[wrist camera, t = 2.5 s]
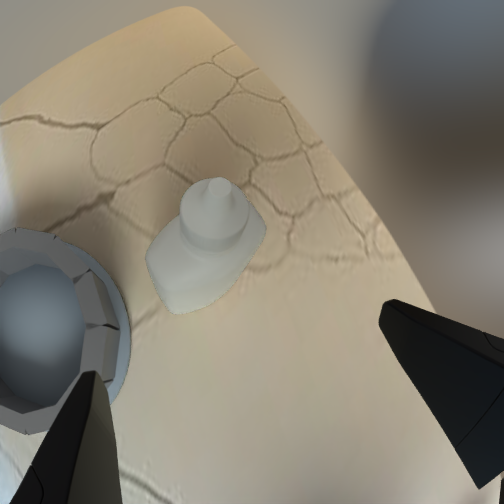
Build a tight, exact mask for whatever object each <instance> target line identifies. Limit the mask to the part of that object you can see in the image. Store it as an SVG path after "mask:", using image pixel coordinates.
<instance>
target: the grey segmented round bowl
mask: <svg viewBox="0 0 504 504" xmlns="http://www.w3.org/2000/svg"><path fill="white" fill-rule="evenodd" d="M130 353H131V332H130V325H129V319H128V315H127V311H126V308H125V304H124V302H123V299H122V297H121V294H120V292H119V290H118V289H117V287H116V285H115V283H114V281H113V280H112V279H111V277H110V276H109V275H108V273H107V272H106V271H105V269H104V268H103V267H102V266H101V265H100V264H99V263H98V262H97V261H96V260H95V259H94V258H93V257H91V256H90V255H89V254H88V253H86V252H85V251H83V250H81V249H80V248H78V247H76V246H74V245H71V244H69V243H66V242H63V241H62V240H61V239H60V238H59V237H58V236H56V235H55V234H51V233H46V232H40V231H35V230H29V229H24V228H19V227H17V229H16V228H13V229H10V230H8V231H6V232H4V233H2V234H0V424H1V425H4V426H6V427H8V428H10V429H13V430H15V431H17V432H20V433H22V434H24V435H26V434H28V435H31V434H35V433H39V432H44V431H47V432H48V431H49V429H50V427H51V425H52V423H53V422H54V420H55V418H56V416H57V415H58V413H59V411H60V409H61V408H62V406H63V404H64V402H65V401H66V399H67V397H68V396H69V394H70V392H71V390H72V389H73V387H74V385H75V384H76V382H77V380H78V379H79V377H80V376H81V374H82V373H83V372H84V371H91V370H96V371H97V372H98V373H99V375H100V377H101V379H102V381H103V382H104V384H105V386H106V388H107V391H108V395H109V401H110V405H111V404H112V402H113V401H114V399H115V398H116V396H117V395H118V393H119V391H120V389H121V387H122V385H123V383H124V380H125V377H126V374H127V371H128V366H129V361H130Z"/></svg>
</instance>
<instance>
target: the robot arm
mask: <svg viewBox="0 0 504 504" xmlns="http://www.w3.org/2000/svg"><path fill="white" fill-rule="evenodd" d="M379 327H380V329H381V331H382V333H383V334H384V336H385V338H386V340H387V342H388V343H389V345H390V347H391V349H392V351H393V353H394V354H395V356H396V358H397V360H398V362H399V363H400V365H401V366H402V368H403V369H404V371H405V372H406V374H407V375H408V377H409V378H410V380H411V381H412V383H413V384H414V386H415V387H416V389H417V390H418V392H419V393H420V395H421V396H422V398H423V399H424V401H425V402H426V404H427V405H428V407H429V409H430V410H431V412H432V413H433V415H434V416H435V418H436V420H437V421H438V423H439V424H440V426H441V427H442V429H443V431H444V432H445V434H446V436H447V437H448V439H449V440H450V442H451V444H452V445H453V447H454V448H455V451H456V452H457V454H458V456H459V457H460V459H461V461H462V462H463V464H464V466H465V467H466V469H467V471H468V473H469V474H470V476H471V478H472V480H473V481H474V483H475V485H476V486H477V488H478V489H481V488H482V487H483V486H485V485H486V484H487V483H489V482H490V481H491V480H493V479H494V478H495V477H496V476H498V475H499V474H500V473H501V472H502V471H504V339H502V338H499V337H496V336H494V335H491V334H488V333H486V332H482V331H480V330H477V329H475V328H472V327H469V326H467V325H464V324H461V323H459V322H456V321H453V320H451V319H448V318H445V317H442V316H440V315H437V314H434V313H432V312H429V311H426V310H424V309H421V308H418V307H416V306H413V305H410V304H407V303H405V302H402V301H399V300H397V299H391V300H389V301H386V302H384V303H383V305H382V309H381V313H380V317H379ZM31 464H32V465H30V466H29V468H28V470H27V472H26V474H25V476H24V478H23V480H22V482H21V484H20V486H19V488H18V490H17V491H16V493H15V495H14V496H13V498H12V500H11V502H10V503H9V504H123V503H122V495H121V487H120V479H119V469H118V458H117V446H116V438H115V432H114V427H113V421H112V415H111V408H110V401H109V395H108V391H107V388H106V386H105V384H104V382H103V381H102V379H101V377H100V375H99V373H98V372H97V371H96V370H91V371H84V372H83V373H82V374H81V376H80V377H79V379H78V380H77V382H76V384H75V385H74V387H73V389H72V390H71V392H70V394H69V396H68V397H67V399H66V401H65V402H64V404H63V406H62V408H61V409H60V411H59V413H58V415H57V416H56V418H55V420H54V422H53V423H52V425H51V427H50V429H49V431H48V432H47V434H46V436H45V438H44V440H43V442H42V444H41V445H40V447H39V449H38V451H37V453H36V455H35V457H34V459H33V461H32V463H31ZM499 504H504V478H503V479H502V480H501V489H500V499H499Z"/></svg>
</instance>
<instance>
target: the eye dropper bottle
mask: <svg viewBox="0 0 504 504" xmlns="http://www.w3.org/2000/svg"><path fill="white" fill-rule="evenodd" d="M246 198H247V197H246V196H245V194H244V193H243V191H241V189H240V188H238V186H236V185H235V184H233V183H231V182H230V181H228V180H227V179H226V178H223V177H216V178H208V179H204V180H201V181H198V182H196V183H195V184H193V185H192V186H190V188H188V189H187V190H186V191H185V193H184V195H183V196H182V199H181V203H180V214H179V215H178V216H176V217H175V218H174V219H173V220H171V221H170V222H169V223H168V224H167V225H166V226H165V227H164V228H163V229H162V230H161V231H160V233H159V234H158V235H157V236H156V237H155V239H154V240H153V242H152V243H151V245H150V247H149V248H148V250H147V253H146V257H145V260H146V264H147V267H148V271H149V273H150V276H151V279H152V281H153V284H154V286H155V289H156V291H157V293H158V295H159V297H160V298H161V300H162V301H163V303H164V304H165V306H166V307H167V309H168V310H169V311H170V312H171V313H172V314H185V313H189V312H193V311H196V310H199V309H201V308H204V307H206V306H208V305H210V304H211V303H213V302H215V301H216V300H217V299H219V298H220V297H221V296H223V295H224V294H225V293H226V292H227V291H228V290H229V289H230V288H231V287H232V286H233V284H234V283H235V282H236V280H237V279H238V278H239V276H240V275H241V273H242V272H243V270H244V269H245V267H246V266H247V264H248V263H249V261H250V260H251V258H252V257H253V255H254V254H255V252H256V251H257V249H258V248H259V246H260V244H261V243H262V241H263V239H264V237H265V234H266V225H265V222H264V220H263V218H262V217H261V215H260V214H259V213H258V211H257V210H256V209H255V207H254V206H253V205H252V204H251V203H250V202H249V201H248V200H247V199H246Z"/></svg>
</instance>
